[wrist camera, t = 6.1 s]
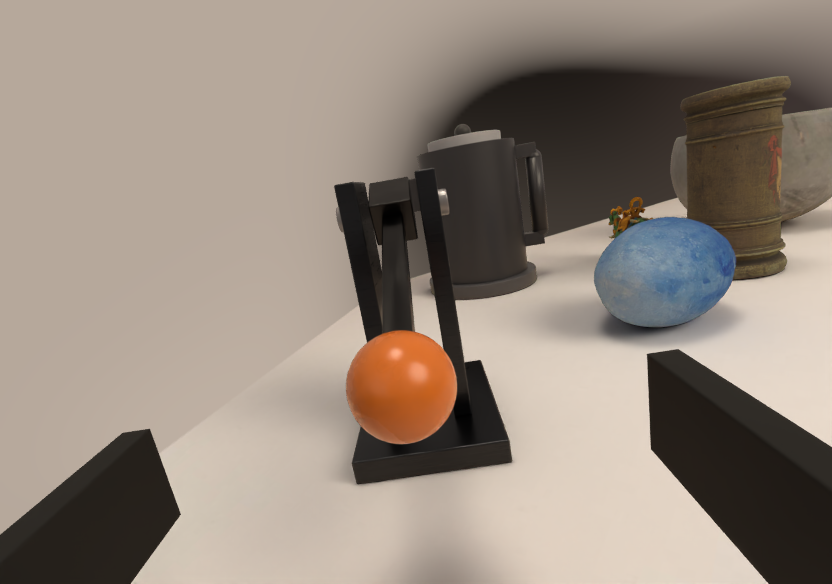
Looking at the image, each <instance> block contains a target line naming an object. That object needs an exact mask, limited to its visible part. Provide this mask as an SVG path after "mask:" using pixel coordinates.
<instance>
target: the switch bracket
mask: <svg viewBox="0 0 832 584" xmlns="http://www.w3.org/2000/svg"><path fill="white" fill-rule="evenodd" d="M415 179H416V185H417V191H418V197H419V203H420V209H421V215H422V221H423V227H424V233H425V239H426V245H427V251H428V258H429V263H430V269H431V276H432V282H433V288H434V294H435V300H436V306H437V312H438V318H439V324H440V330H441V336H442V342H443V349H444V351H445V352H446V353H447V355H448V356H449V358H450V360H451V362H452V364H453V367H454V370H455V374H456V378H457V395H456V400H455V404H454V407H453V409H452V412H451V414H450V416H449V417H448V419H447V420H446V422H445V423H444V424H443V425H442V426H441V427H440V428H439V429H438V430H437V431H436V432H435V433H434V434H432V435H431V436H429V437H427V438H425V439H423V440H421V441H418V442H414V443H409V444H394V443H389V442H385V441H382V440H379V439H377V438H375V437H374V436H372V435H371V434H369V433H368V432H366V431H365V430H364V429H363V428H362V427H361V428H360V432H359V436H358V440H357V444H356V448H355V453H354V457H353V461H352V466H353V470H354V474H355V479H356V483H357V484H361V483H368V482H375V481H382V480H389V479H396V478H403V477H410V476H417V475H424V474H431V473H438V472H445V471H452V470H459V469H466V468H473V467H480V466H487V465H494V464H501V463H508V462H512V456H511V449H510V441H509V438H508V435H507V432H506V430H505V427H504V424H503V421H502V418H501V415H500V413H499V410H498V407H497V404H496V401H495V399H494V396H493V393H492V390H491V387H490V385H489V382H488V379H487V376H486V373H485V371H484V368H483V365H482V362H481V360H477V361H471V362H465V363H464V356H463V350H462V343H461V337H460V330H459V324H458V317H457V311H456V304H455V298H454V291H453V285H452V278H451V272H450V265H449V259H448V252H447V246H446V239H445V232H444V226H443V219H442V215H448V214H449V204H448V197H447V192H446V189H439V190H438V187H437V180H436V174H435V169H434V168H428V169H423V170H418V171H415ZM334 188H335V193H336V197H337V202H338V207H337V209H336V215H337V221H338V225H339V228H340V230H341V232H344V235H345V240H346V245H347V249H348V254H349V259H350V263H351V268H352V273H353V278H354V282H355V287H356V292H357V297H358V302H359V306H360V311H361V316H362V321H363V325H364V330H365V335H366V340H367V343H368V342H369V341H370V340H372V339H373V338H375V337H377V336H379V335H381V334H382V270H381V265H380V260H379V254H378V249H377V244H376V239H375V233H374V228H373V224H372V220H371V216H370V212H369V208H368V203H369V202H368V197H367V192H366V187H365V183H363V182H350V183H344V184H338V185H335V186H334Z"/></svg>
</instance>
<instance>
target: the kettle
mask: <svg viewBox="0 0 832 584" xmlns="http://www.w3.org/2000/svg"><path fill="white" fill-rule="evenodd" d="M454 133H455V136H453V137H449V138H444V139H440V140H437V141H433V142H431V143H429V144H428V151H429V152H428V153H425V154H421V155H419V156H417V159H418V165H419V170H423V169H428V168H434V169H435V174H436V180H437V187H438V190H439V189H446V192H447V197H448V204H449V214H448V215H442V219H443V226H444V232H445V239H446V246H447V252H448V259H449V265H450V272H451V278H452V285H453V291H454V298H455V299H461V300H462V299H479V298H487V297H494V296H499V295H504V294H508V293H512V292H515V291H518V290H521V289H524V288H526V287H528V286H530V285H531V284H533V283H534V282H535V281H536V279H537V275H536V266H535V265H534V264H533V263H531V262H527V257H526V247H525V246H531V245H537V244H543V243H545V240H544V236H545V235H546V234H547V232H548V219H547V209H546V198H545V187H544V176H543V166H542V156H541V153H540V152H539V151H538V150H536V147H535V142H532V143H526V144H520V145H514V139H513V138H503V139H501V135H500V130H489V131H480V132H474V133H471V130H470V128H469V127H468V126H467V125H465V124H461V125H458V126H457V127H456V129H455V132H454ZM520 158H525V163H526V173H527V182H528V192H529V202H530V212H531V221H532V230H533V231H530V232H524V229H523V220H522V211H521V201H520V192H519V183H518V174H517V164H516V159H520ZM409 185H410V190H411V196H412V202H413V207H414V212H415V211H421V209H420V203H419V197H418V191H417V185H416V179H409ZM430 286H431V292H432V294H433V295H435V294H434V288H433V282H432V278H431V279H430Z"/></svg>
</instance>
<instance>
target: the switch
mask: <svg viewBox="0 0 832 584" xmlns="http://www.w3.org/2000/svg"><path fill="white" fill-rule="evenodd" d="M368 208H369V212H370V216H371V220H372V224H373V228H374V232H375V236H376V240H377V243H378V245H382V334H381V335H379V336H377V337H375V338H373V339H372V340H370V341H369V342H368V343H366V344H365V345H364V346H363V347H362V348H361V349H360V350H359V352H358V353H357V354H356V356H355V358H354V359H353V361H352V363H351V365H350V368H349V371H348V375H347V381H346V394H347V401H348V404H349V407H350V410H351V412H352V414H353V416H354V417H355V419H356V421H357V422H358V423H359V424H360V426H361V427H362V428H363V429H364V430H365V431H366V432H368V433H369V434H371V435H372V436H374V437H375V438H377V439H379V440H382V441H385V442H389V443H394V444H409V443H414V442H418V441H421V440H423V439H425V438H427V437H429V436H431V435H432V434H434V433H435V432H436V431H437V430H438V429H439V428H440V427H441V426H442V425H443V424H444V423H445V422H446V420H447V419H448V417H449V416H450V414H451V412H452V409H453V407H454V404H455V400H456V395H457V378H456V374H455V370H454V367H453V364H452V362H451V360H450V358H449V356H448V355H447V353H446V352H445V351H444V350H443V349H442V347H441V346H440V345H438V344H437V343H436V342H435V341H434V340H432V339H430V338H429V337H427V336H425V335H423V334H420V333H417V332H415V327H414V316H413V305H412V294H411V283H410V272H409V262H408V250H407V241H408V240H414V239H417V238H418V236H417V229H416V221H415V213H414V207H413V202H412V196H411V190H410V185H409V179H408V177H404V178H399V179H393V180H387V181H382V182H376V183H370V185H369V203H368Z"/></svg>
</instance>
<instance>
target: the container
mask: <svg viewBox="0 0 832 584" xmlns="http://www.w3.org/2000/svg"><path fill="white" fill-rule="evenodd" d="M790 84H791V82H790V79H789V77H788V76H779V77H772V78H766V79H760V80H755V81H749V82H745V83H740V84H736V85H731V86H727V87H723V88H719V89H716V90H711V91H708V92H704V93H701V94H697V95H694V96H691V97H688V98H686V99H684V100H682V103H681V110H682V111H683V112H686V113H687V116H686V117H685V118H684V121H686V124H687V139H686V142H685V145H686V148H687V202H688V206H687V219H691V220H695V221H699V222H701V223H704V224H706V225H709V226H710V227H712V228H713V229H715V230H716V231H717V232H719V233H720V234H721V235H723V236H724V237H725V238H726V239H727V240H728V241H729V243H730V245H731V246H732V249H733V251H734V253H735V256H736V267H735V271H734V276H733V279H747V278H755V277H762V276H767V275H772V274H775V273H778V272H780V271H782V270H783V269H784V268H785V266H786V263H787V259H786V256H785V255H784V254H783V253H782V252H780V251H779V250H781V249H783V248H784V247H785V243H784V242H783V239H781V220H782V219H781V218H782V212H781V211H780V192H781V164H782V130H783V128H784V127H785V126H784V125H783V122H782V106H783V105H784V103H783V102H784V101H785V100H786V98H785V97H783V96H782V94H783V92H784V91H786V90H787V89H788V88H789V87H790Z"/></svg>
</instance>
